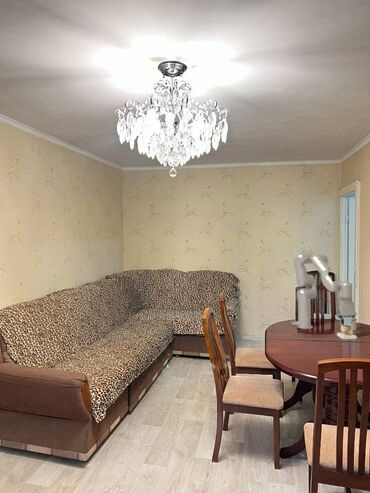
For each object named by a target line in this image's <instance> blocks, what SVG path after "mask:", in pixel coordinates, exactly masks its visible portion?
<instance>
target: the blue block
mask: <svg viewBox="0 0 370 493" xmlns="http://www.w3.org/2000/svg"><path fill="white" fill-rule="evenodd" d="M343 319H344V326H352V317H350V316H344V318H343Z"/></svg>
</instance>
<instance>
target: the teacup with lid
mask: <svg viewBox="0 0 370 493" xmlns="http://www.w3.org/2000/svg"><path fill="white" fill-rule="evenodd" d="M339 323H340V326H341V325H342V324H341V320H340V321H339ZM351 327H353V330H355V331H356V330H357V317H356V316H355V317H354V318H353V319H352V326H351Z"/></svg>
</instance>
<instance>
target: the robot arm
mask: <svg viewBox="0 0 370 493" xmlns="http://www.w3.org/2000/svg"><path fill="white" fill-rule="evenodd" d="M293 263H294V269H295V275H296V277H295V278H296V283H297V285H298V286H299V287H303V288H300V289H298V290H297V292H296V297H297V298H296V299H297V311H298V314H297V315H298V316H297V317H298V318H297V319H298V320H297V321H292V322H291V323H292V324H291V325H295V326H296V327H297V328H298V329H302V330H303V329H304V330H305V329H306V330H309V329H313V328H314V327H313V326H314V325H312V324H311V320H312V319H311V318H312V316H311V315H312V314H311V310H312V309H311V307H312V306H311V302H310V300H313V299H315V298H316V297H317V295H318V291H317V283H316V282H317V281H316V279H315V276H314V275H312V274H308V273H307V268H306V265H308V264H309V265H310V264H312V265H313V267H314V268H315V269H316V271H317V272H318V273H319V275H320V279H321V283H322V285H323V286H324V287H325V289H326V290H328V291H329V292H331V293H335V292H340V297H339V298H338V300H339V305H338V311H337V312H336V314H335V315H336V316H337V317H338V318H339V319H340V321H341V323H340V325H341V324H342V325H344V319H343V318H344V316H350V317H352V319H353V318H354V317H355V318H356V316H357V315H358V314H357V312H356V309H355V302H354V301H353V283H352V282H349V281H348V282H346V281H342V280H341V281H340V280H335V281H333V280H332V279H331V277H330V276H329V273H330V272H331V267H330V266H329V264H328V263H329V258H328V256H327V255H326V254H323V253H314V252H307V253H306V252H304V253H303V252H302V253H299V254H297V255H296V256H295V257H294V260H293ZM305 264H306V265H305Z"/></svg>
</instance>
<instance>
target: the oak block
mask: <svg viewBox="0 0 370 493" xmlns="http://www.w3.org/2000/svg"><path fill="white" fill-rule="evenodd" d="M340 333H341V334H343V335H344V336H348V335H353V334H354V331H353V327H351V326H344V325H341V324H340Z"/></svg>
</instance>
